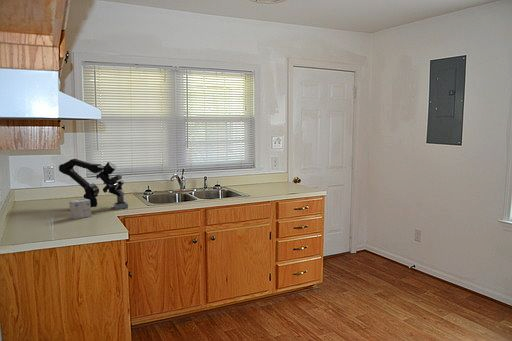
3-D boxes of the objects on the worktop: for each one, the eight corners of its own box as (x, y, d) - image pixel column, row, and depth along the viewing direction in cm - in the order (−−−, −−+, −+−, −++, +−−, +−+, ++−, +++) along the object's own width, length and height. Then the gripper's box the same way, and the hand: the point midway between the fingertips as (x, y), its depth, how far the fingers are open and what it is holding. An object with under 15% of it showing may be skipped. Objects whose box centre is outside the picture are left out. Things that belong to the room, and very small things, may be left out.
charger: (119, 205, 275) (119, 190, 273) (116, 204, 277) (115, 190, 276) (125, 204, 278) (124, 189, 277) (121, 203, 281) (120, 189, 279)
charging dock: (115, 209, 272) (114, 204, 272) (113, 206, 280) (113, 202, 279) (128, 208, 276) (127, 203, 275) (126, 205, 283) (126, 201, 283)
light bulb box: (86, 214, 259) (85, 198, 257) (91, 216, 254) (90, 199, 253) (69, 217, 251) (68, 200, 249) (75, 219, 246) (73, 202, 245)
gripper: (105, 172, 266) (121, 189, 265) (121, 169, 284) (136, 185, 283) (95, 184, 269) (111, 201, 268) (111, 179, 287) (126, 195, 286)
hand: (122, 195), depth 276 cm, fingers closed on charger, 4 cm apart
